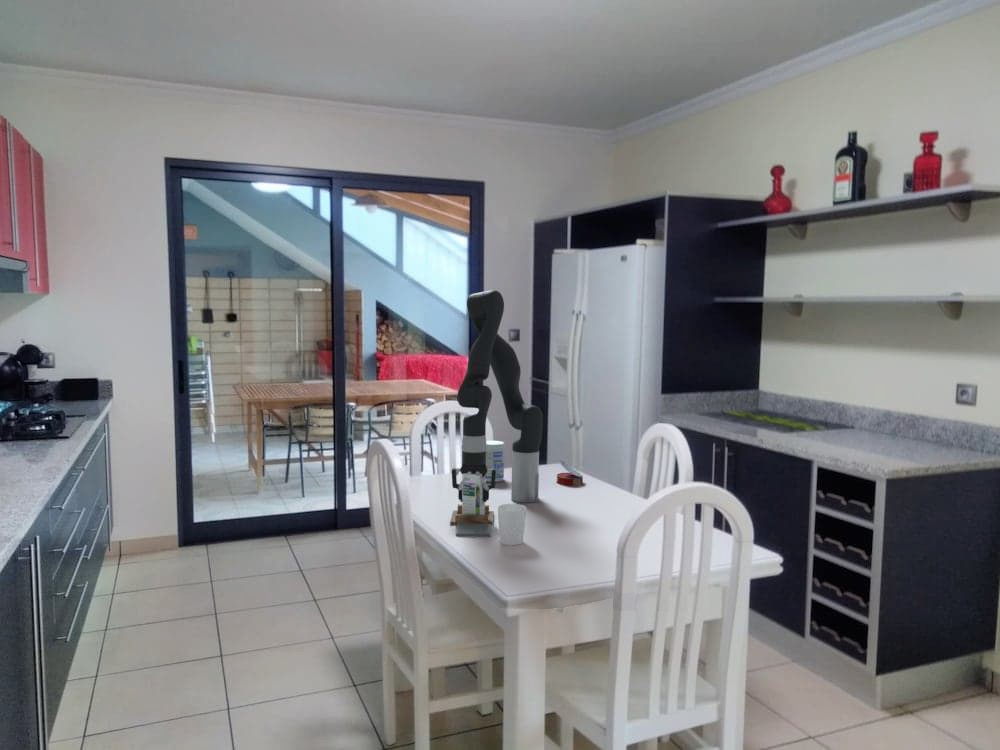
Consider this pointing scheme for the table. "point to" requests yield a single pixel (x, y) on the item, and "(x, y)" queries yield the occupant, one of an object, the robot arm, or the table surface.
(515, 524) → the white cup
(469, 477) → the syrup box
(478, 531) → the thin grey plate
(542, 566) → the table surface
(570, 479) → the canned food
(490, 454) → the supplement tub
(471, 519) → the wooden picture frame
